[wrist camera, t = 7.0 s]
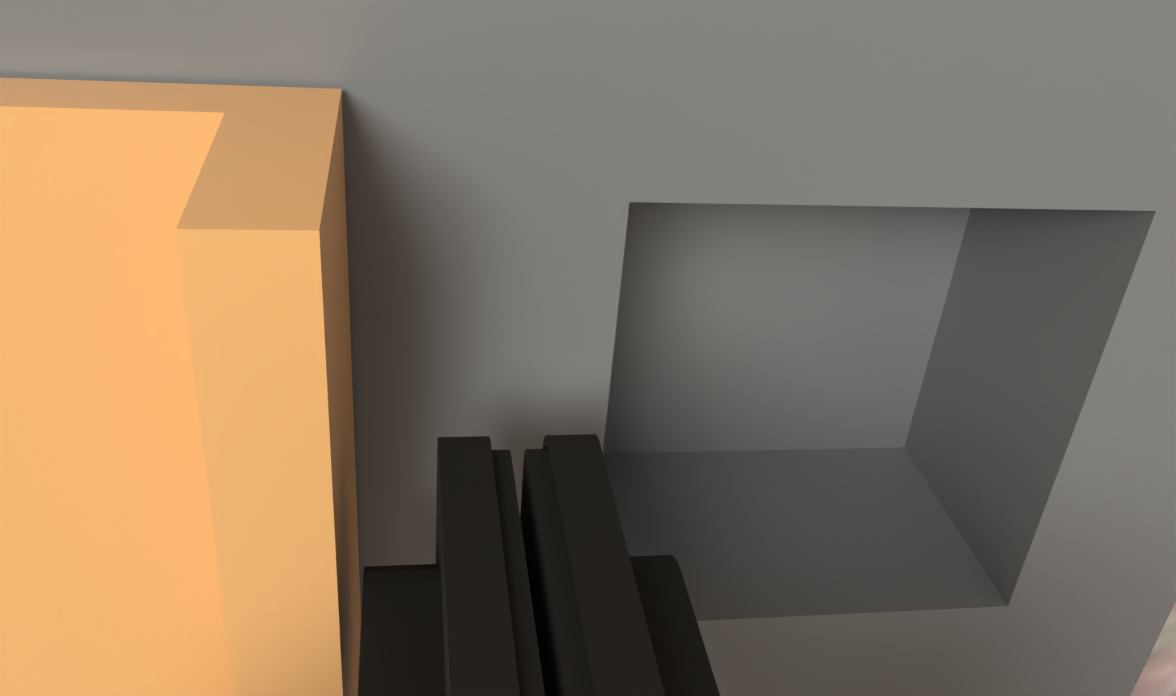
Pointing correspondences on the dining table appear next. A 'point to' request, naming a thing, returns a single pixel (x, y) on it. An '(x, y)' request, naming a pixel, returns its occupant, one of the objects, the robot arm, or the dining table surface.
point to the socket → (759, 298)
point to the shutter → (175, 392)
